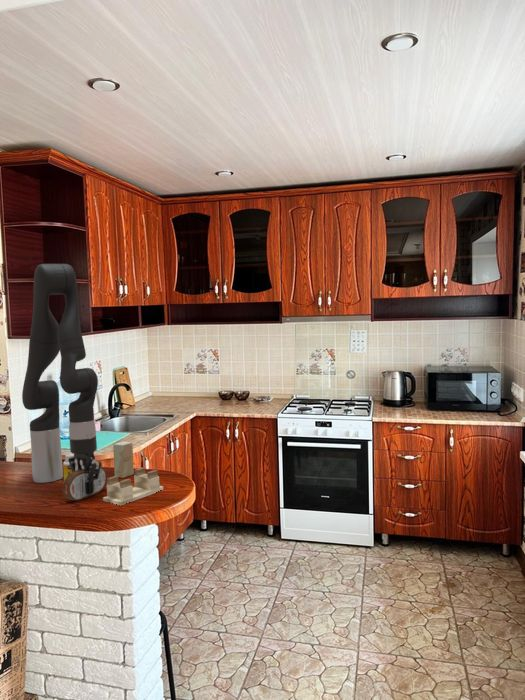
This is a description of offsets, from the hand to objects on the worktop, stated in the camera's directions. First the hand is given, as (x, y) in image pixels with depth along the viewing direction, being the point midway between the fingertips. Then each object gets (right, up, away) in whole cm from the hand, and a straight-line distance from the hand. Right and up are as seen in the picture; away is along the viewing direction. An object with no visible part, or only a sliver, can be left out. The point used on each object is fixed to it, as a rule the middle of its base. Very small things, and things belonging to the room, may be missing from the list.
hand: (86, 492), depth 158 cm
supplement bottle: (-8, -1, +11) cm, 14 cm away
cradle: (+14, -1, -1) cm, 15 cm away
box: (+6, 0, +21) cm, 22 cm away
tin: (0, -1, 0) cm, 1 cm away
